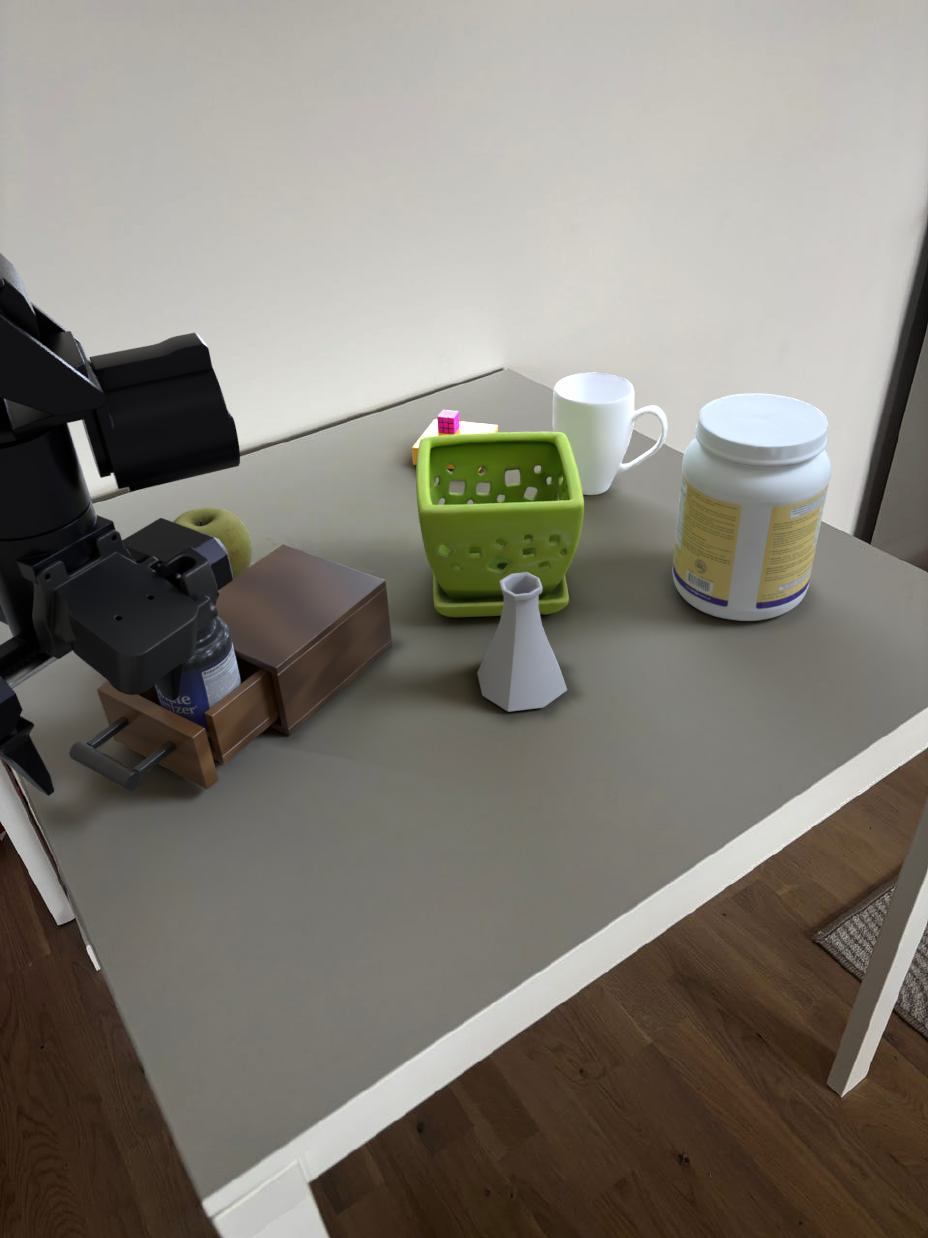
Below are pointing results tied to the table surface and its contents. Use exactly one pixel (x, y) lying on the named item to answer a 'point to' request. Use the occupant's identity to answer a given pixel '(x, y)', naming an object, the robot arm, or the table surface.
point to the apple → (222, 533)
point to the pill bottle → (206, 675)
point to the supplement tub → (751, 506)
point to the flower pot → (498, 518)
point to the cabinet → (306, 627)
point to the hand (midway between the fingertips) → (112, 742)
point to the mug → (600, 425)
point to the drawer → (180, 731)
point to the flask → (520, 651)
